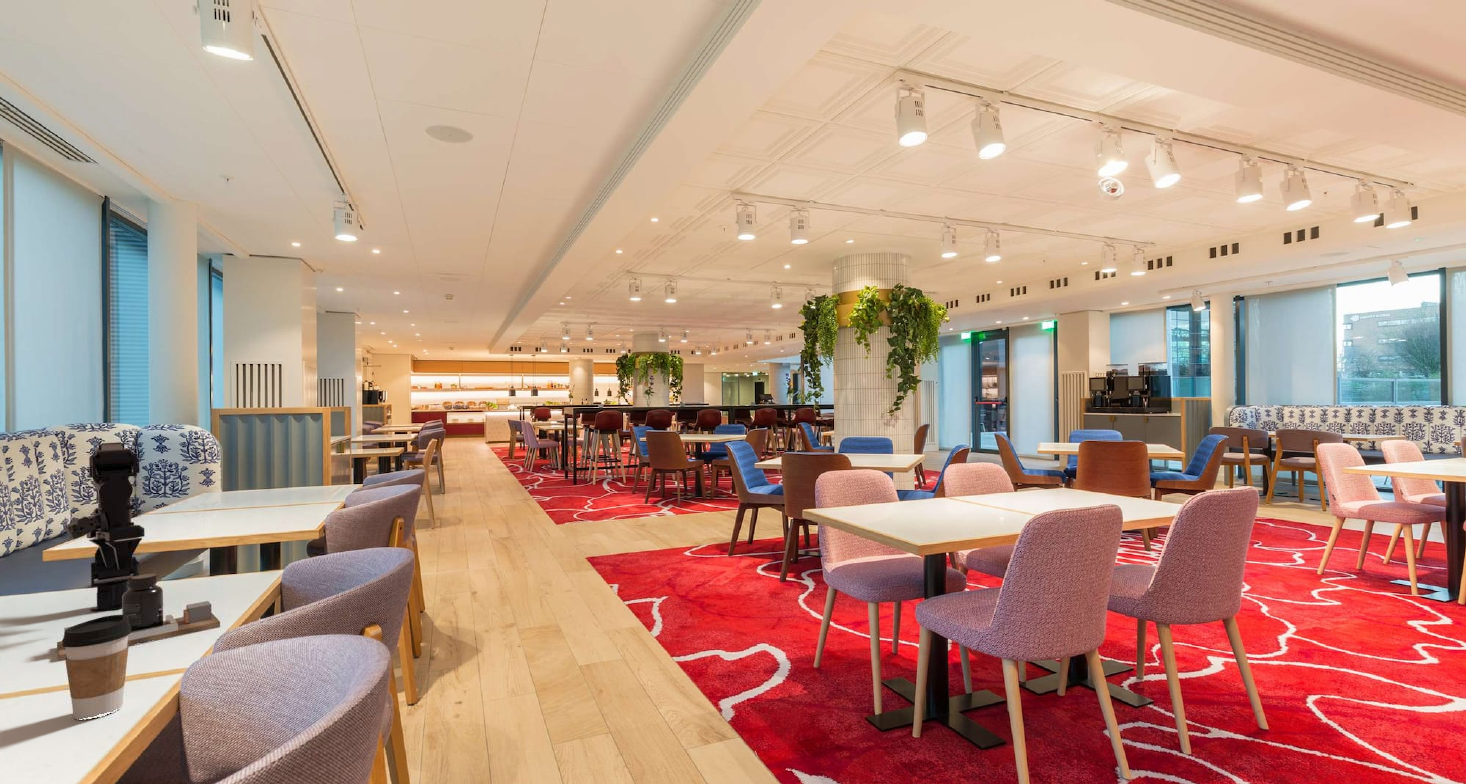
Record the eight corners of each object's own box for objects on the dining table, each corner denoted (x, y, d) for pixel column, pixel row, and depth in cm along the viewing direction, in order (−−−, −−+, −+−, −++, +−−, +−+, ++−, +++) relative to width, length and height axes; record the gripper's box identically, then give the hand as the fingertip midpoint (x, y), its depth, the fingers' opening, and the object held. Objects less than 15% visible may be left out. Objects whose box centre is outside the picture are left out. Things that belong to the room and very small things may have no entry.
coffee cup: (144, 704, 114) (143, 616, 114) (82, 728, 106) (81, 633, 106) (112, 698, 117) (111, 612, 117) (50, 720, 109) (49, 628, 109)
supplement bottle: (170, 627, 150) (169, 574, 150) (132, 638, 144) (131, 582, 144) (153, 623, 153) (152, 571, 153) (115, 633, 147) (115, 578, 147)
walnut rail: (210, 616, 161) (210, 597, 161) (220, 626, 154) (219, 606, 154) (57, 647, 142) (56, 625, 142) (59, 661, 135) (59, 637, 135)
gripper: (56, 506, 158) (57, 573, 157) (79, 507, 147) (80, 579, 147) (119, 500, 167) (120, 563, 166) (144, 500, 157) (145, 568, 156)
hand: (115, 568), depth 158 cm, fingers open, 9 cm apart
